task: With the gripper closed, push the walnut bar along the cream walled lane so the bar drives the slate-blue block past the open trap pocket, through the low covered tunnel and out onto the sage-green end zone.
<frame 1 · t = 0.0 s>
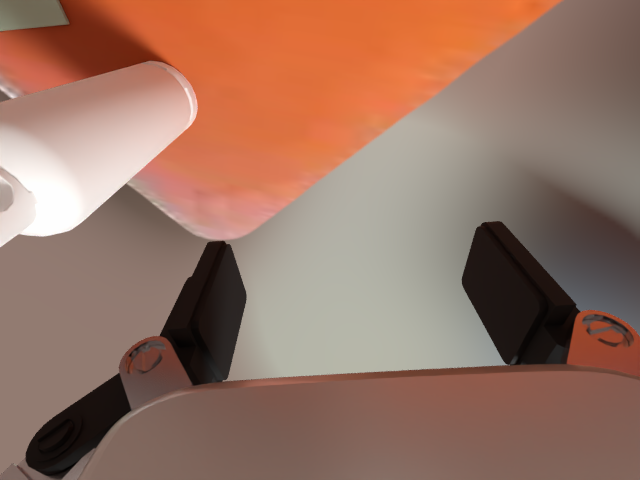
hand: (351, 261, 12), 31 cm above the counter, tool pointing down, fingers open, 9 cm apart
bottle: (164, 98, 37), on the counter
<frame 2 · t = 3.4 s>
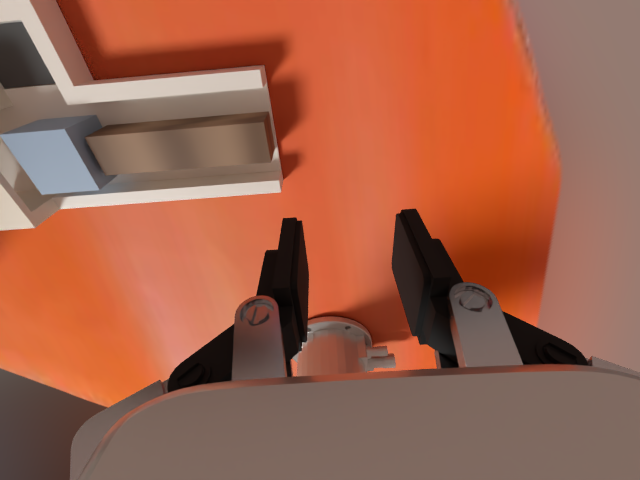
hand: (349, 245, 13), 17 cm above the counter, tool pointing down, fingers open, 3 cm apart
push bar: (193, 137, 26), resting on lane
lane: (67, 146, 27), on the counter
block: (83, 146, 27), resting on lane
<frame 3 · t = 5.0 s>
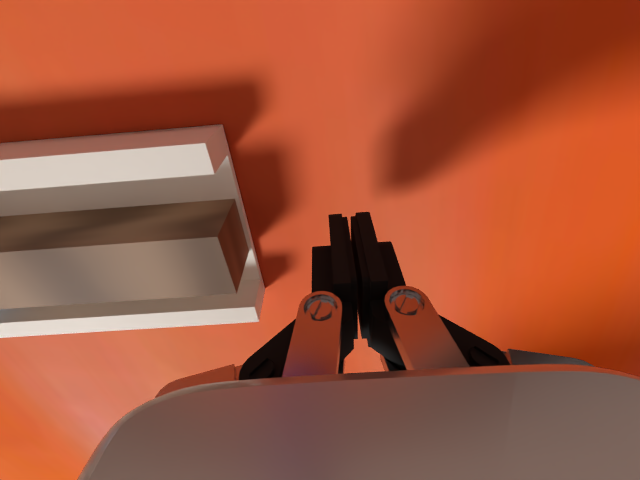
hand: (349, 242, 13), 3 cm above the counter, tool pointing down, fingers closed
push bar: (109, 236, 16), resting on lane
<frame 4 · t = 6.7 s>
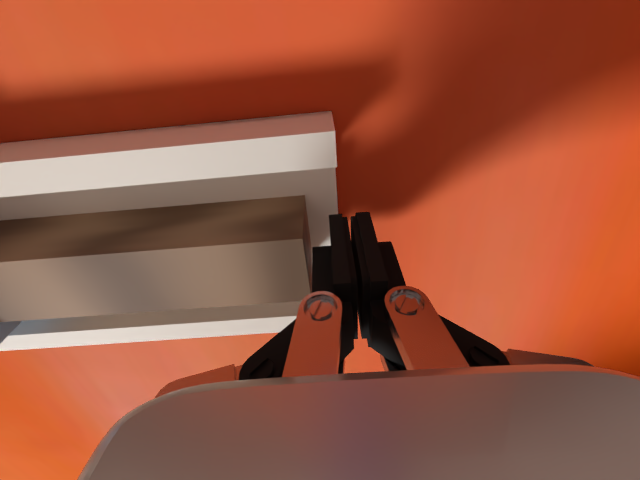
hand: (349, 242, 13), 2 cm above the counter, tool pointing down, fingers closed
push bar: (162, 237, 14), resting on lane, touching block, gripper
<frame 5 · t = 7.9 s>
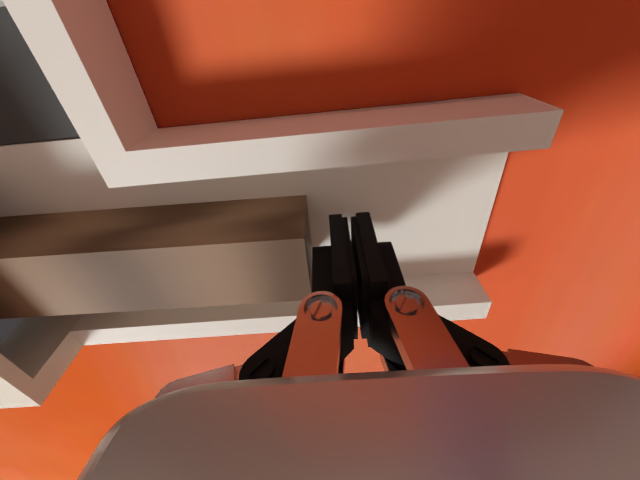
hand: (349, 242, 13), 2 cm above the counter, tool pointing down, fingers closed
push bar: (163, 235, 14), resting on lane, touching block, gripper
lane: (97, 239, 15), on the counter
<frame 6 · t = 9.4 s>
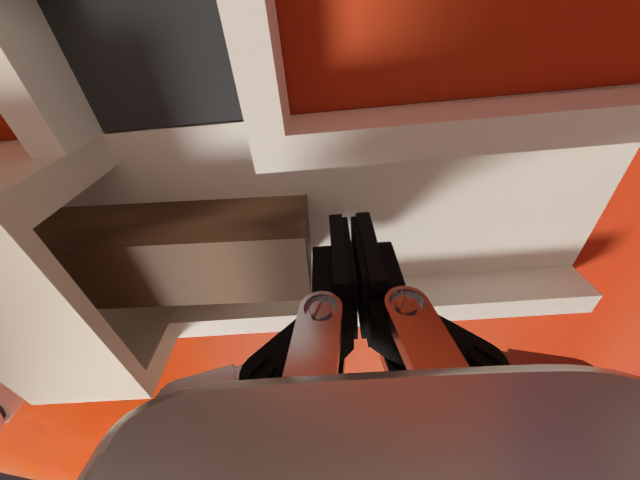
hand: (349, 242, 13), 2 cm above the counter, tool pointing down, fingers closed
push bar: (162, 232, 14), resting on lane, touching block, gripper
lane: (199, 230, 15), on the counter
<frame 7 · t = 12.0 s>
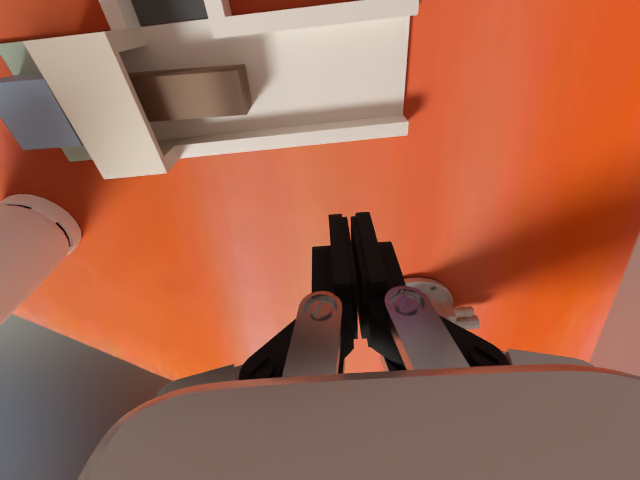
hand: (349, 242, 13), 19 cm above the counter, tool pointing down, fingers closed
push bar: (169, 90, 26), resting on lane
lane: (190, 92, 27), on the counter
bottle: (43, 223, 35), on the counter
block: (65, 103, 27), resting on lane
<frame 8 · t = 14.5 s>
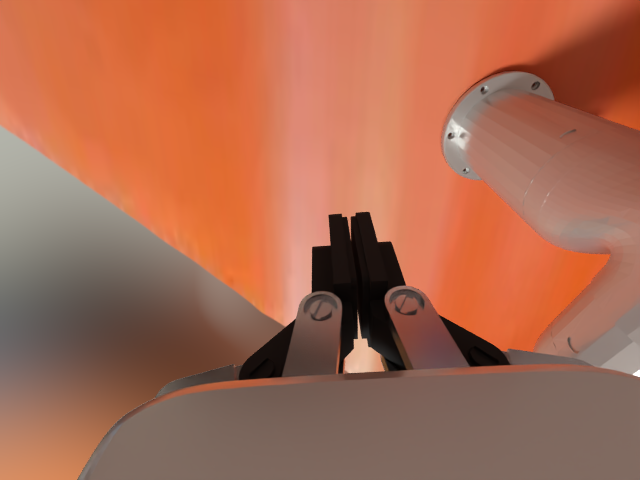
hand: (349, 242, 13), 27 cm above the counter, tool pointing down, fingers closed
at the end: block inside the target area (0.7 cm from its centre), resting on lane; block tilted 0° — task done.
